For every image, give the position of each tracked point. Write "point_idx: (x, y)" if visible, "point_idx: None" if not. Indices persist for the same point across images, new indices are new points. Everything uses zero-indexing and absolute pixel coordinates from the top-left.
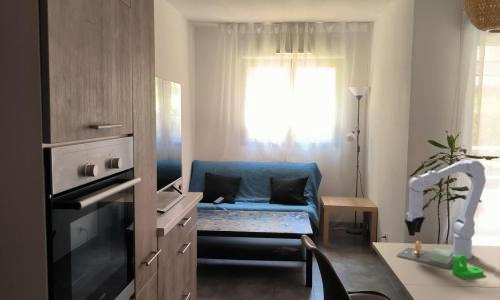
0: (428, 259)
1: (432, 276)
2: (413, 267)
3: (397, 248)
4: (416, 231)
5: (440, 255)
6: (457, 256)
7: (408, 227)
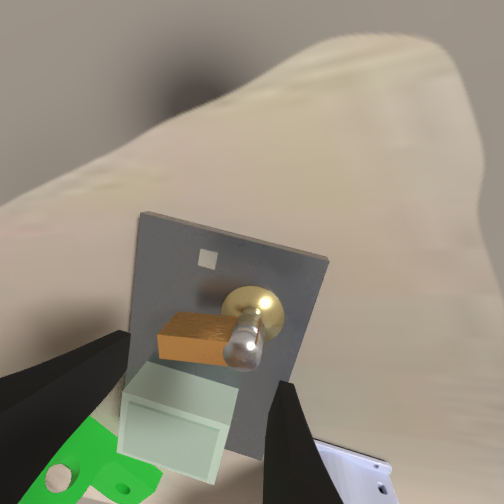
0: (157, 355)
1: (15, 351)
2: (62, 290)
3: (333, 195)
4: (276, 398)
5: (121, 423)
6: (19, 501)
7: (15, 384)
